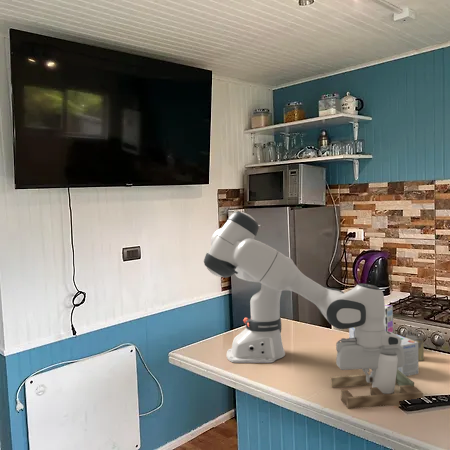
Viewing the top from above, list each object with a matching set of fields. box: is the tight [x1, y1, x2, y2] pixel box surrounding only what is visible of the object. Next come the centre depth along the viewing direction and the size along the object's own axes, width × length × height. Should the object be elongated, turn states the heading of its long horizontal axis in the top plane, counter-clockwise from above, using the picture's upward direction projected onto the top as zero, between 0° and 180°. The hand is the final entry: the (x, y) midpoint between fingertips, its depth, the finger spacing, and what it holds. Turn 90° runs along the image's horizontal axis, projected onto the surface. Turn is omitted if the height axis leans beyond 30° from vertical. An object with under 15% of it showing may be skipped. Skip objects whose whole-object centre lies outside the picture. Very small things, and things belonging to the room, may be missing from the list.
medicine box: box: [348, 327, 355, 338], centre depth 182 cm, size 8×4×9 cm, turn 179°
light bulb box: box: [396, 334, 419, 377], centre depth 158 cm, size 11×7×11 cm, turn 21°
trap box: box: [329, 369, 424, 410], centre depth 140 cm, size 22×16×4 cm
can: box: [371, 353, 398, 394], centre depth 142 cm, size 6×6×12 cm
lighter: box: [405, 329, 425, 362], centre depth 169 cm, size 7×4×10 cm, turn 27°
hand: (370, 381), depth 142 cm, fingers closed
